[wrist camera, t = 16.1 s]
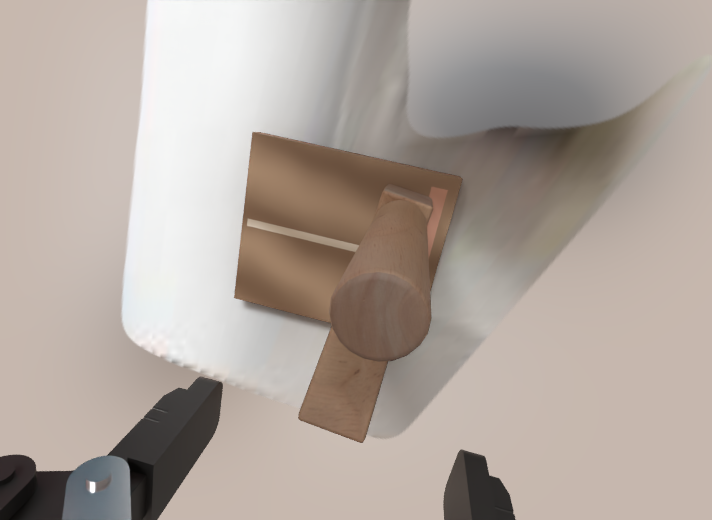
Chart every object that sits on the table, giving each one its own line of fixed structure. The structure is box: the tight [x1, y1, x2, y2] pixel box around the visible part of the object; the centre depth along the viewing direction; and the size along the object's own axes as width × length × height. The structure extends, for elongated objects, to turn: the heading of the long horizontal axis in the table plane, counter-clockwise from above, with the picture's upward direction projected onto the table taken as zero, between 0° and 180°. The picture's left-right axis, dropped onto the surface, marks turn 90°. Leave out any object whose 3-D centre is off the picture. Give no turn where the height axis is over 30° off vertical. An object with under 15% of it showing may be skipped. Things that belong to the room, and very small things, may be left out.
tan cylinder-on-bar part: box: [298, 184, 433, 443], centre depth 23 cm, size 4×11×18 cm, turn 163°
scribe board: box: [234, 132, 462, 323], centre depth 33 cm, size 14×16×2 cm
